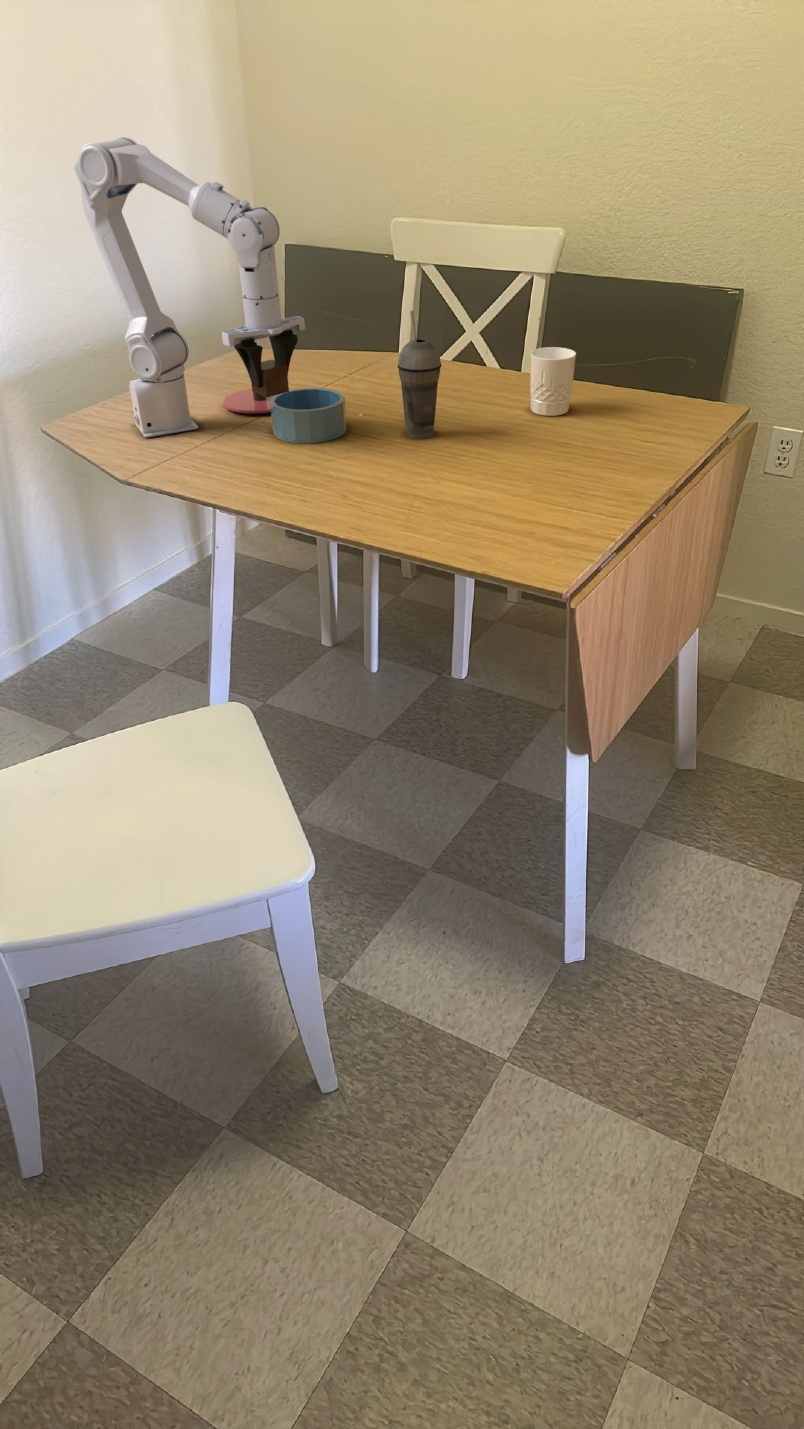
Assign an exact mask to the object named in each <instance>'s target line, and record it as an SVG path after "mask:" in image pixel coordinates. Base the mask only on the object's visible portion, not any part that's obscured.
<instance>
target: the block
mask: <svg viewBox="0 0 804 1429" xmlns="http://www.w3.org/2000/svg"><path fill="white" fill-rule="evenodd" d="M261 371H262V387H261V388H257V387H255V386H252V385H251V389H252V391H253V392H255V393H257V394H260V395H262V396H265V397H271V396H274V395H278V394H282V393H286V392H289V390H290V388H289V377H288V376H289V374H288V375H287V365H286V364H283V363H280V362H277V361H275V360H274V359H268V360H263V361H261Z"/></svg>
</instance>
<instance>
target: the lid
mask: <svg viewBox="0 0 804 1429" xmlns="http://www.w3.org/2000/svg"><path fill="white" fill-rule="evenodd" d="M274 396H275V395H274ZM272 397H273V396H271V397H265V396H262V395H260V394H257V393H255V392H253V391H252V388H248V389H243V390H239V391H236V392H233V393H230V394H228V395H227V396H226V397H224V398H223V401H222V403H223V404H222V405H223V406H224V408H225V409H227V410H229V411H232V412H236V413H239V414H240V413H241V414H266V413H271V409H270V400H271V399H272Z"/></svg>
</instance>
